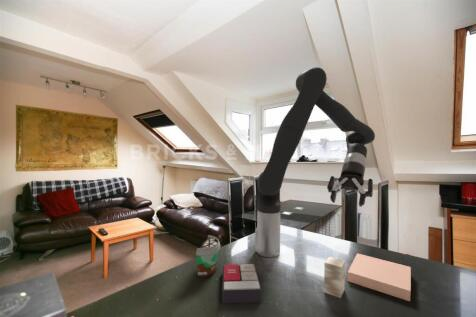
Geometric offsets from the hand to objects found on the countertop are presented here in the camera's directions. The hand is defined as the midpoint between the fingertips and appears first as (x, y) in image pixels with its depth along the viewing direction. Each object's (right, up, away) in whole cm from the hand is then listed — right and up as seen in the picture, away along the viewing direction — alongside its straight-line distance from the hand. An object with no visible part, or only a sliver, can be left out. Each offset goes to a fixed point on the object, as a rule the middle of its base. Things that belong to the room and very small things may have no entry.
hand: (346, 203), depth 77 cm
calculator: (-36, -25, -7) cm, 44 cm away
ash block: (-8, -24, -9) cm, 27 cm away
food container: (-46, -24, +2) cm, 52 cm away
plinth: (+10, -24, -3) cm, 26 cm away
